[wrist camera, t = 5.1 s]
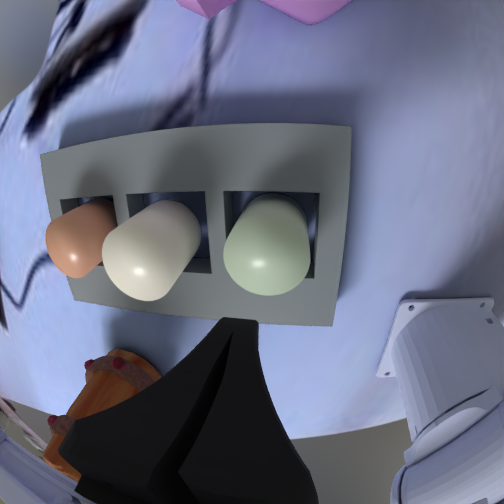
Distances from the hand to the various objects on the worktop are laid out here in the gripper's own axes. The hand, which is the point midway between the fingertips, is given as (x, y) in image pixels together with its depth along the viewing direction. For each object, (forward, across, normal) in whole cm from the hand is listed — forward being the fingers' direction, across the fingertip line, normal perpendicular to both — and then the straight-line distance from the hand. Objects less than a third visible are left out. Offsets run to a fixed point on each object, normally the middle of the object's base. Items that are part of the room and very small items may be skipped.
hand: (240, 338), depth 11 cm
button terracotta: (+8, +11, -1) cm, 14 cm away
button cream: (+7, +5, -1) cm, 9 cm away
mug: (+9, +13, +17) cm, 23 cm away
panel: (+8, +5, -2) cm, 10 cm away
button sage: (+8, -1, -2) cm, 8 cm away
